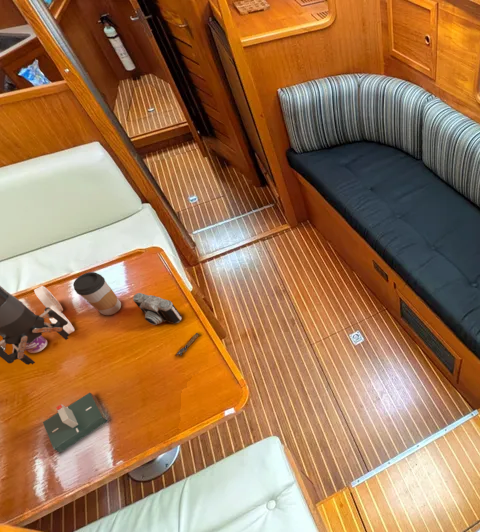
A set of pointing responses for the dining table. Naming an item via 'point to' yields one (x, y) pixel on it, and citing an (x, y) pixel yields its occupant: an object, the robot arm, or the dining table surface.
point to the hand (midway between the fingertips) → (49, 349)
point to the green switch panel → (86, 417)
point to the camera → (157, 309)
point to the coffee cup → (97, 293)
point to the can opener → (188, 344)
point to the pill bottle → (36, 345)
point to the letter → (53, 306)
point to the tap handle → (67, 416)
